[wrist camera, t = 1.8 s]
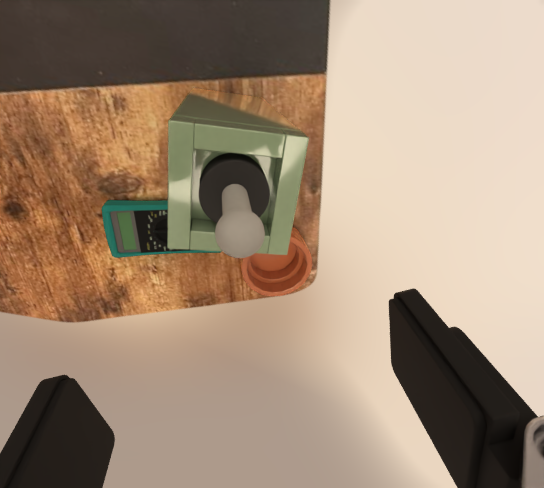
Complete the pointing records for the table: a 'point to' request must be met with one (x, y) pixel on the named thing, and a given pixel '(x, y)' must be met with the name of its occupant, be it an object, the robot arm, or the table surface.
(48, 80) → the table surface
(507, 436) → the robot arm
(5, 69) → the table surface
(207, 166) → the stopper
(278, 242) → the green tall hollow block
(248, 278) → the basin bowl
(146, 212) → the digital multimeter
